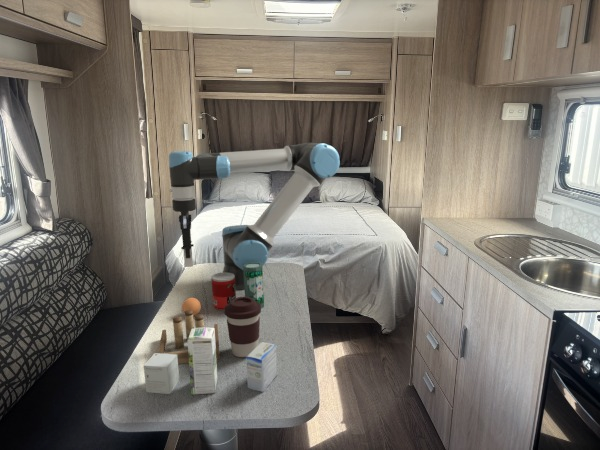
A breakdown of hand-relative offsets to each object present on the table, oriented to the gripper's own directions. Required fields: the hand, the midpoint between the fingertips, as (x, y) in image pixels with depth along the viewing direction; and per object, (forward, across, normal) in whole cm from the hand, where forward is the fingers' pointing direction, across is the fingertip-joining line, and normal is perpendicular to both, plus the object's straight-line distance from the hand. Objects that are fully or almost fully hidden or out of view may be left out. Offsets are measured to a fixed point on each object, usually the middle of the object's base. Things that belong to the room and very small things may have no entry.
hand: (188, 266), depth 155 cm
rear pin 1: (+14, +30, -3) cm, 34 cm away
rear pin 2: (+14, +30, +3) cm, 34 cm away
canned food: (+14, +4, +11) cm, 19 cm away
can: (+14, +8, +21) cm, 27 cm away
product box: (+15, +49, -6) cm, 52 cm away
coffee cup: (+14, +37, +15) cm, 43 cm away
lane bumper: (+14, +31, 0) cm, 34 cm away
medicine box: (+14, +54, +18) cm, 58 cm away
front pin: (+14, +26, 0) cm, 30 cm away
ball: (+11, +10, 0) cm, 15 cm away
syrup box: (+14, +52, +4) cm, 55 cm away
